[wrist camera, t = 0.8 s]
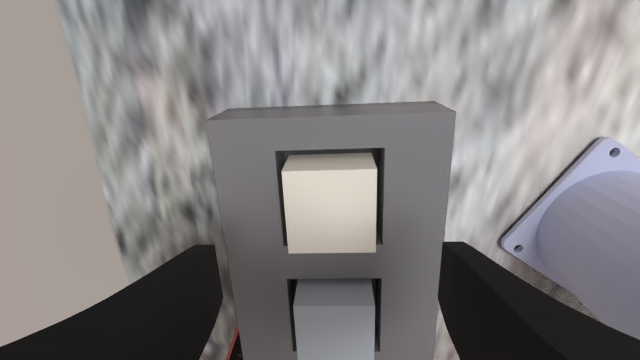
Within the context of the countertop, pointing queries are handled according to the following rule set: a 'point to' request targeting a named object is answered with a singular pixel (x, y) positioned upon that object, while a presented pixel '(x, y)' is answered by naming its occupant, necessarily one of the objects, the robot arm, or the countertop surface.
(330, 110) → the slotted grey tray
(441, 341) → the countertop surface
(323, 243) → the key cream
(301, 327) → the key slate
